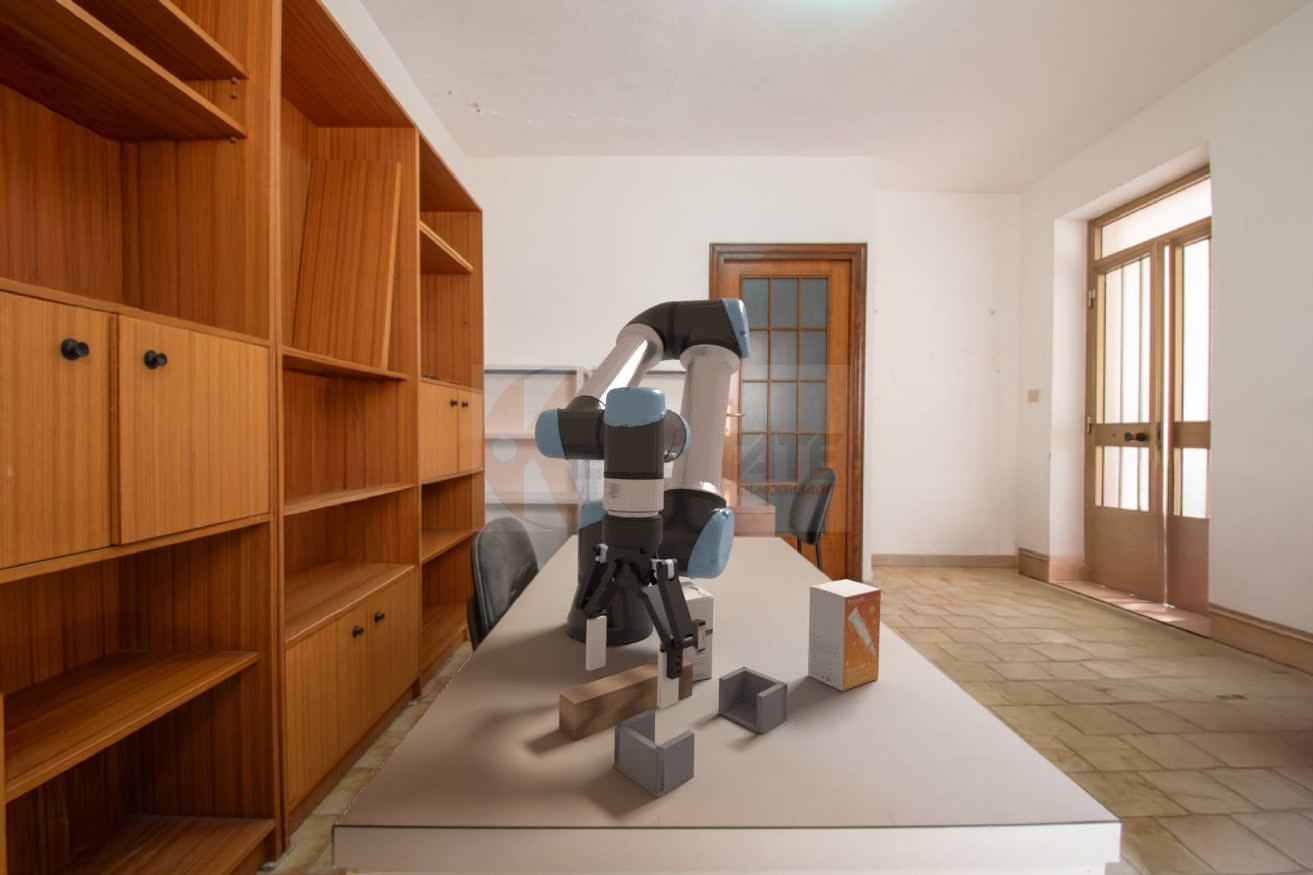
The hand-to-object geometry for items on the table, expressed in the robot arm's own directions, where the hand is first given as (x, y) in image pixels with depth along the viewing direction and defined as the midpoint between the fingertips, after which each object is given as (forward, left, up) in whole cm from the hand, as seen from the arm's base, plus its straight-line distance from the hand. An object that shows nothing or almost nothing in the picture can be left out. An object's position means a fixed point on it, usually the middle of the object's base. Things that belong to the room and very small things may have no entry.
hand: (629, 684), depth 69 cm
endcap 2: (+11, +11, -4) cm, 16 cm away
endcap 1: (+11, -6, -4) cm, 13 cm away
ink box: (-4, +14, -4) cm, 16 cm away
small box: (+13, +29, -4) cm, 32 cm away
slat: (0, 0, -4) cm, 4 cm away
